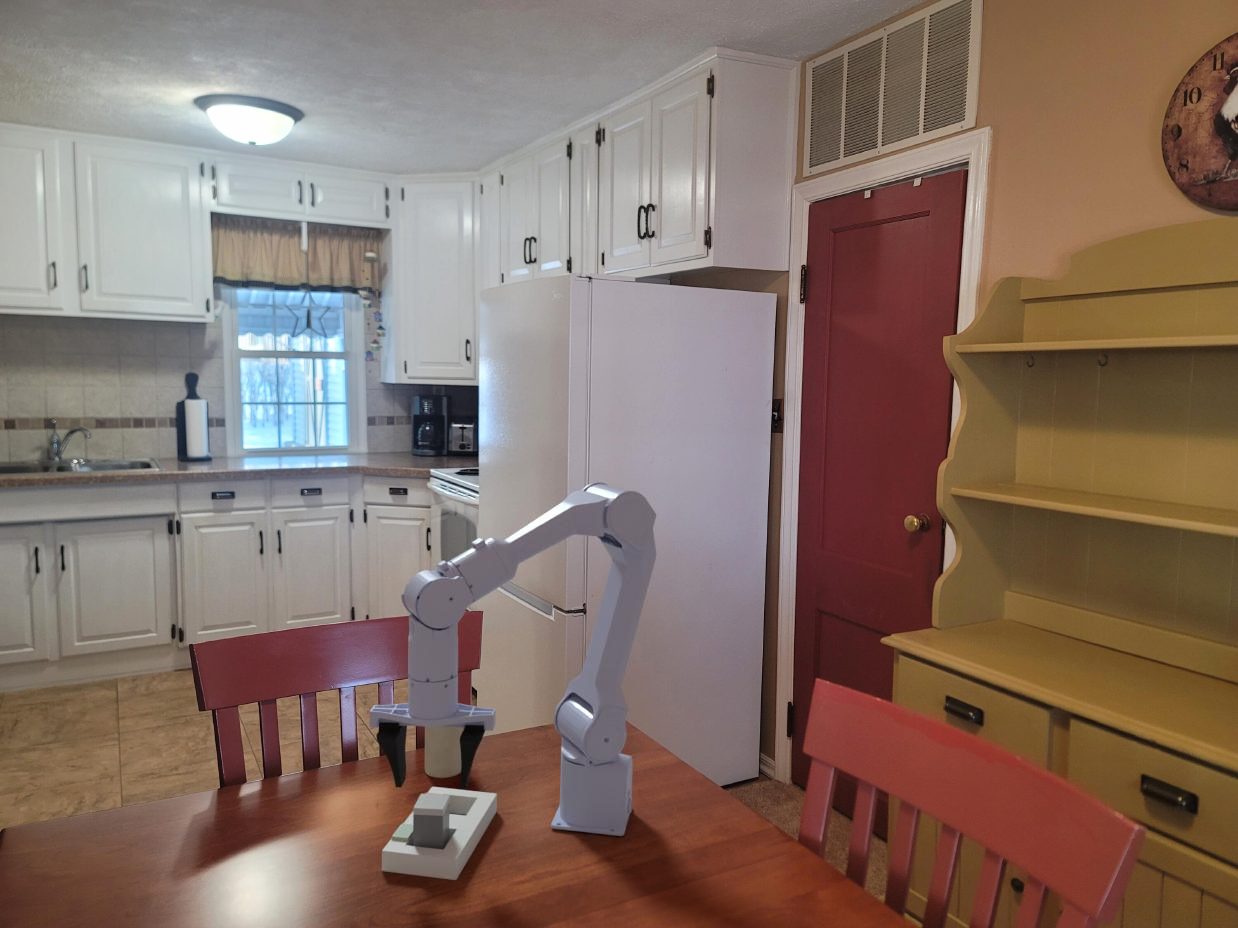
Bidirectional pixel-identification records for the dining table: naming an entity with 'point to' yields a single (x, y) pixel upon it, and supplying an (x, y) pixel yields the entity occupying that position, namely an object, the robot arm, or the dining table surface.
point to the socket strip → (461, 837)
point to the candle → (442, 751)
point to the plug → (431, 821)
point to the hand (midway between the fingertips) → (432, 784)
